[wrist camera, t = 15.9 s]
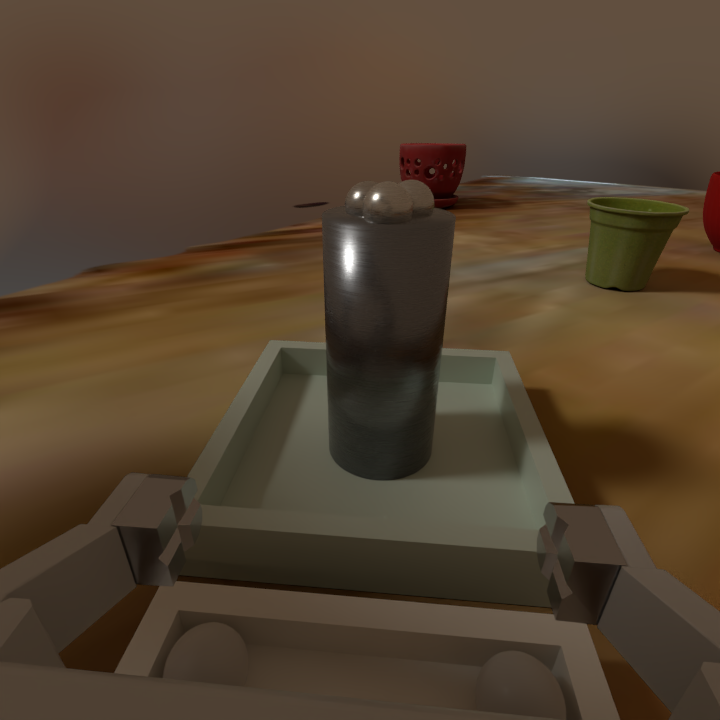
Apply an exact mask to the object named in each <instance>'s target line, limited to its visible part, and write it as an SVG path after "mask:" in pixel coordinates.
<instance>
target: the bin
mask: <svg viewBox="0 0 720 720" xmlns="http://www.w3.org/2000/svg"><path fill="white" fill-rule="evenodd" d="M187 477H190V478H193V479H195V481H196V485H197V489H198V491H197V492H196V494H195V496H194V498H195V499H196V500H197V501H198V502H199V503H200V504H201V508H202V524H201V529H200V533H199V536H198V538H197V540H196V542H195V544H194V545H193V546H192V547H190V548H189V549H188V550H186V551H185V552H184V554H185V558H186V562H185V564H184V566H183V568H182V570H181V572H180V574H179V575H184V576H195V577H207V578H218V579H230V580H241V581H252V582H264V583H275V584H287V585H298V586H310V587H321V588H333V589H344V590H355V591H367V592H378V593H390V594H401V595H413V596H424V597H436V598H447V599H458V600H470V601H481V602H493V603H504V604H516V605H527V606H538V607H550V608H552V607H551V604H550V601H549V598H548V594H547V588H548V584H549V580H548V579H547V578H546V577H545V576H544V575H543V574H542V573H541V570H540V567H539V563H538V558H537V537H538V532H539V529H540V528H541V527H543V526H544V525H545V524H546V522H545V519H544V516H543V513H544V510H545V506H546V505H547V503H548V502H556V503H572V504H575V503H574V501H573V498H572V496H571V494H570V492H569V489H568V487H567V485H566V482H565V480H564V478H563V475H562V473H561V471H560V468H559V466H558V464H557V461H556V459H555V457H554V454H553V452H552V450H551V448H550V445H549V443H548V441H547V438H546V436H545V434H544V431H543V429H542V427H541V424H540V422H539V420H538V417H537V415H536V413H535V410H534V408H533V406H532V404H531V401H530V399H529V397H528V394H527V392H526V390H525V387H524V385H523V383H522V380H521V378H520V376H519V373H518V371H517V369H516V367H515V364H514V362H513V360H512V357H511V355H510V353H509V351H490V350H469V349H447V348H442V356H441V366H440V376H439V385H438V395H437V405H436V415H435V425H434V434H433V444H432V453H431V457H430V459H429V461H428V462H427V464H426V465H425V466H424V467H423V468H422V469H421V470H419V471H418V472H416V473H414V474H412V475H410V476H407V477H405V478H401V479H396V480H387V481H379V480H369V479H365V478H361V477H358V476H355V475H353V474H350V473H348V472H347V471H345V470H343V469H342V468H341V467H339V466H338V465H337V464H336V463H335V461H334V460H333V458H332V456H331V454H330V451H329V430H328V397H327V364H326V343H319V342H298V341H277V340H270V341H269V343H268V345H267V346H266V348H265V349H264V351H263V353H262V354H261V356H260V358H259V359H258V361H257V363H256V364H255V366H254V368H253V369H252V371H251V372H250V374H249V376H248V377H247V379H246V381H245V382H244V384H243V386H242V387H241V389H240V391H239V392H238V394H237V395H236V397H235V399H234V400H233V402H232V404H231V405H230V407H229V409H228V410H227V412H226V414H225V415H224V417H223V418H222V420H221V422H220V423H219V425H218V427H217V428H216V430H215V432H214V433H213V435H212V437H211V438H210V440H209V441H208V443H207V445H206V446H205V448H204V450H203V451H202V453H201V455H200V456H199V458H198V460H197V461H196V463H195V464H194V466H193V468H192V469H191V471H190V473H189V474H188V476H187Z"/></svg>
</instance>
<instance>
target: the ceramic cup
mask: <svg viewBox="0 0 720 720" xmlns="http://www.w3.org/2000/svg"><path fill="white" fill-rule="evenodd" d="M703 223H704V228H705V231H706V234H707V236H708V238H709V240H710V242H711V244H712V245H713V249H714V250H716V251H718V252H720V172H715V173H713V174H712V176H711V178H710V182H709V185H708V189H707V193H706V197H705V202H704V208H703Z"/></svg>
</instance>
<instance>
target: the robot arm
mask: <svg viewBox="0 0 720 720" xmlns="http://www.w3.org/2000/svg"><path fill="white" fill-rule="evenodd" d="M197 491H198V489H197V485H196V481H195V479H193V478H190V477H179V476H169V475H158V474H143V473H133V472H132V473H130V474H128V475H126V476H125V477H124V478H123V479H122V481H121V482H120V483H119V484H118V486H117V487H116V488H115V489H114V491H113V492H112V493H111V494H110V496H109V497H108V498H107V500H106V501H105V502H104V503H103V505H102V506H101V507H100V508H99V510H98V511H97V512H96V513H95V515H94V516H93V517H92V518H91V520H90V521H89V522H88V524H80V525H78V526H76V527H74V528H72V529H71V530H69V531H67V532H65V533H64V534H62V535H60V536H58V537H56V538H55V539H53V540H51V541H49V542H48V543H46V544H44V545H42V546H40V547H39V548H37V549H35V550H33V551H31V552H30V553H28V554H26V555H24V556H23V557H21V558H19V559H17V560H15V561H14V562H12V563H10V564H8V565H7V566H5V567H3V568H1V569H0V720H562V719H552V718H542V717H533V716H523V715H513V714H504V713H494V712H484V711H475V710H465V709H456V708H446V707H436V706H427V705H417V704H407V703H398V702H388V701H378V700H369V699H359V698H349V697H339V696H330V695H320V694H310V693H301V692H291V691H281V690H272V689H262V688H252V687H243V686H233V685H223V684H214V683H204V682H195V681H185V680H175V679H166V678H156V677H147V676H137V675H127V674H118V673H108V672H99V671H89V670H79V669H70V668H66V667H65V665H64V663H63V661H62V660H61V658H60V656H59V654H58V653H60V652H61V651H62V650H63V649H64V648H65V647H67V646H68V645H69V644H70V643H71V642H72V641H74V640H75V639H76V638H77V637H78V636H79V635H81V634H82V633H83V632H84V631H85V630H86V629H88V628H89V627H90V626H91V625H92V624H93V623H95V622H96V621H97V620H98V619H99V618H100V617H102V616H103V615H104V614H105V613H106V612H107V611H109V610H110V609H111V608H112V607H113V606H114V605H116V604H117V603H118V602H119V601H120V600H121V599H123V598H124V597H125V596H126V595H127V594H128V593H130V592H131V591H132V590H133V589H134V588H135V587H136V584H138V585H155V586H172V587H173V586H174V584H175V582H176V580H177V578H178V576H179V574H180V572H181V570H182V568H183V566H184V564H185V562H186V558H185V554H184V552H185V551H186V550H188V549H189V548H190V547H192V546H193V545H194V544H195V542H196V540H197V538H198V536H199V533H200V529H201V524H202V508H201V504H200V503H199V502H198V501H197V500H196V499H195V498H194V496H195V494H196V492H197ZM543 516H544V519H545V522H546V524H545V525H544V526H543V527H541V528H540V529H539V532H538V537H537V558H538V563H539V567H540V570H541V573H542V574H543V575H544V576H545V577H546V578H547V579H548V580H549V584H548V588H547V594H548V598H549V601H550V604H551V607H552V611H553V614H554V617H555V620H558V621H566V622H575V623H584V624H592V625H598V626H597V628H598V629H599V630H600V631H601V632H602V633H603V635H604V636H605V637H606V638H607V639H608V640H609V641H610V643H611V644H612V645H613V646H614V647H615V648H616V649H617V651H618V652H619V653H620V654H621V655H622V656H623V658H624V659H625V660H626V661H627V662H628V663H629V664H630V666H631V667H632V668H633V669H634V670H635V671H636V672H637V674H638V675H639V676H640V677H641V678H642V679H643V681H644V682H645V683H646V684H647V685H648V686H649V687H650V689H651V690H652V691H653V692H654V693H655V694H656V695H657V697H658V698H659V699H660V700H661V701H662V702H663V704H664V705H665V706H666V707H667V708H668V709H669V710H670V712H671V713H672V714H671V716H670V718H669V719H668V720H720V612H719V611H718V610H717V609H715V608H714V607H713V606H711V605H710V604H709V603H707V602H706V601H705V600H704V599H702V598H701V597H700V596H698V595H697V594H696V593H694V592H693V591H692V590H690V589H689V588H688V587H686V586H685V585H684V584H683V583H681V582H680V581H679V580H677V579H676V578H675V577H673V576H672V575H671V574H669V573H668V572H667V571H665V570H661V569H657V568H656V566H655V565H654V563H653V561H652V559H651V557H650V556H649V554H648V552H647V550H646V549H645V547H644V545H643V543H642V541H641V540H640V538H639V536H638V534H637V533H636V531H635V529H634V527H633V525H632V524H631V522H630V520H629V518H628V517H627V515H626V513H625V511H624V510H623V509H622V508H621V507H620V506H609V505H589V504H572V503H556V502H548V503H547V505H546V506H545V510H544V513H543Z"/></svg>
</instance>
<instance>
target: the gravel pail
mask: <svg viewBox="0 0 720 720" xmlns="http://www.w3.org/2000/svg"><path fill="white" fill-rule="evenodd" d="M455 219H456V217H455V215H454V214H452V213H451V212H448V211H446V210H442V209H438V208H434V197H433V194H432V192H431V190H430V189H429V187H428V186H427V185H425V184H424V183H422V182H420V181H418V180H405V181H402V182H400V183H399V184H398V183H395V182H389V181H387V182H382V183H379V184H378V183H376V182H372V181H365V182H360V183H358V184H357V185H355V186H354V187H353V188H352V189H351V190H350V191H349V193H348V194H347V197H346V200H345V206H340V207H336V208H332V209H329V210H326V211H325V212H323V214H322V231H323V264H324V297H325V331H326V364H327V397H328V430H329V451H330V454H331V456H332V458H333V460H334V461H335V463H336V464H337V465H338V466H339V467H341V468H342V469H343V470H345V471H347V472H348V473H350V474H353V475H355V476H358V477H361V478H365V479H369V480H379V481H387V480H396V479H401V478H405V477H407V476H410V475H412V474H414V473H416V472H418V471H419V470H421V469H422V468H423V467H424V466H425V465H426V464H427V462H428V461H429V459H430V457H431V453H432V444H433V434H434V425H435V415H436V405H437V395H438V385H439V376H440V366H441V356H442V346H443V336H444V327H445V317H446V307H447V297H448V287H449V278H450V268H451V258H452V248H453V239H454V229H455Z"/></svg>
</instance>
